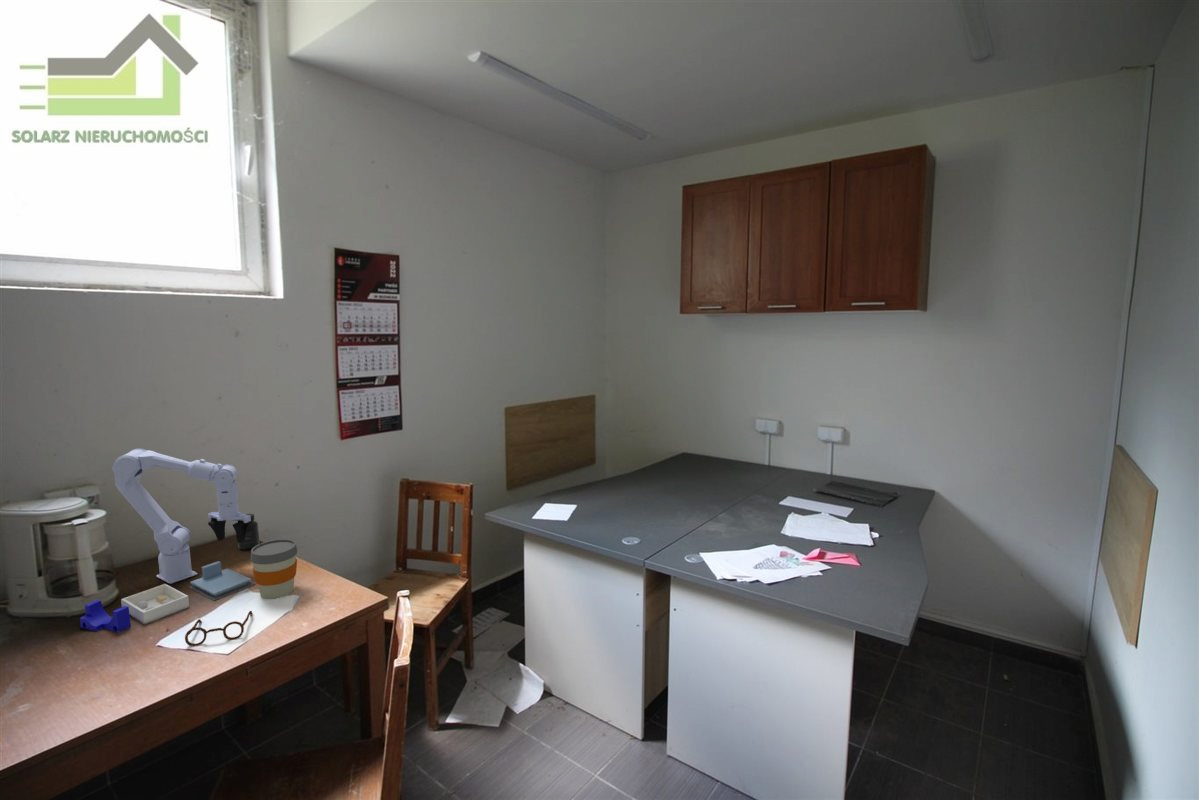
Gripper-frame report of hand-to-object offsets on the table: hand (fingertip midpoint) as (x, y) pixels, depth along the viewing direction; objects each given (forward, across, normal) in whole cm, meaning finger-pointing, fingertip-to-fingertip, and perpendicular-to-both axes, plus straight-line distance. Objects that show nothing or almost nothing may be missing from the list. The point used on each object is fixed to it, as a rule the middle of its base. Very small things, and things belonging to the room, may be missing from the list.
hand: (231, 540), depth 185 cm
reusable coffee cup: (+11, +25, -10) cm, 29 cm away
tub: (+10, -2, -26) cm, 28 cm away
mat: (+10, +6, -11) cm, 16 cm away
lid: (+9, +5, -10) cm, 15 cm away
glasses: (+11, +25, -31) cm, 42 cm away
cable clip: (+11, -6, -36) cm, 39 cm away
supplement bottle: (+11, -10, +17) cm, 23 cm away
